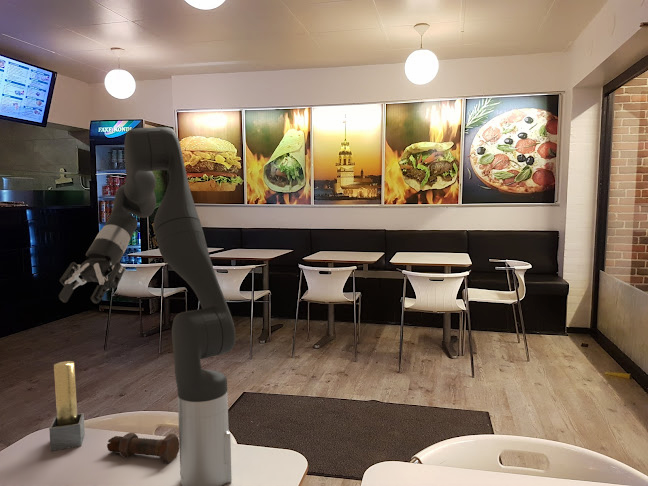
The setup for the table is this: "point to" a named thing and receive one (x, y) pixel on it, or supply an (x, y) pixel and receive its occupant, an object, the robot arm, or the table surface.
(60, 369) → the tall amber cylinder
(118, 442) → the bolt
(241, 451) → the table surface
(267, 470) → the table surface
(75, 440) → the open square box
